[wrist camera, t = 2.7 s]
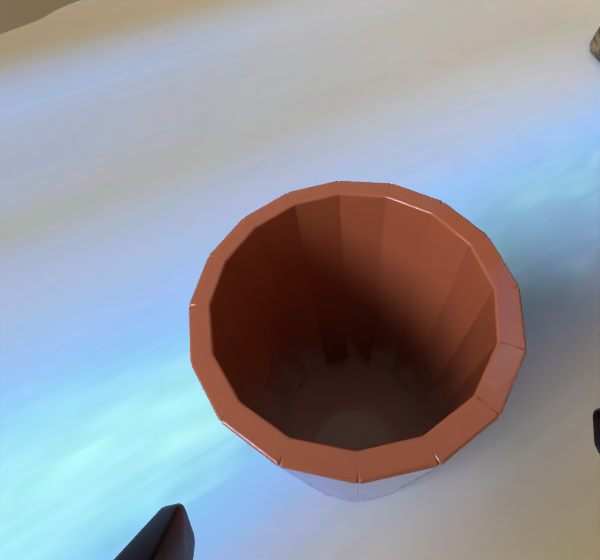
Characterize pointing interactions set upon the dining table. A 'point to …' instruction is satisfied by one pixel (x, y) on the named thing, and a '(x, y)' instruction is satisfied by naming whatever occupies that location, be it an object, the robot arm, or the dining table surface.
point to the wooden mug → (596, 44)
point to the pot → (356, 335)
